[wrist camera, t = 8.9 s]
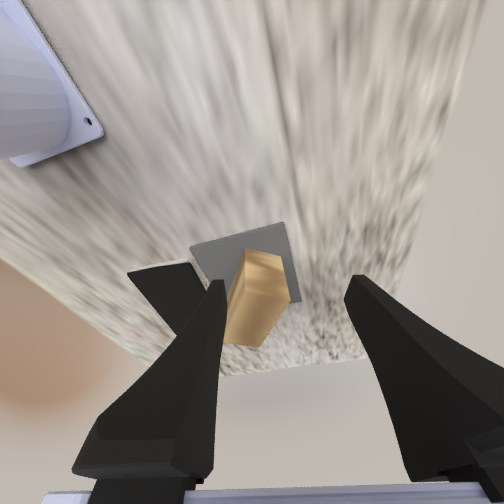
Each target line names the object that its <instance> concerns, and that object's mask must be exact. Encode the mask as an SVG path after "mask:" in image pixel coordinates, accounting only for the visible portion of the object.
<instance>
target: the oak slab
mask: <svg viewBox="0 0 504 504" xmlns="http://www.w3.org/2000/svg"><path fill="white" fill-rule="evenodd" d="M290 301H291V300H290V296H289V291H288V286H287V282H286V277H285V273H284V268H283V264H282V259H281V256H277V255H273V254H269V253H265V252H261V251H257V250H254V249H250V248H246V247H245V250H244V253H243V255H242V258H241V261H240V264H239V266H238V269H237V272H236V274H235V277H234V280H233V282H232V285H231V288H230V290H229V293H228V296H227V302H228V305H227V321H226V328H225V334H224V340H223V342H225V343H232V344H239V345H246V346H252V347H260V346H261V344H262V343H263V341H264V340H265V338H266V337H267V335H268V334H269V332H270V331H271V329H272V328H273V326H274V325H275V323H276V322H277V320H278V319H279V317H280V316H281V314H282V313H283V311H284V310H285V308H286V307H287V305H288V304H289V302H290Z"/></svg>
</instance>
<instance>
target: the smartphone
mask: <svg viewBox="0 0 504 504" xmlns="http://www.w3.org/2000/svg"><path fill="white" fill-rule="evenodd" d="M127 275H128V277H129V278H130V280H131V281H132V282H133V283H134V284H135V286H136V287H137V288H138V289H139V290H140V292H141V293H142V294H143V295H144V296H145V298H146V299H147V300H148V301H149V303H150V304H151V305H152V306H153V307H154V309H155V310H156V311H157V312H158V313H159V315H160V316H161V317H162V318H163V319H164V321H165V322H166V323H167V324H168V325H169V327H170V328H171V329H172V330H173V331H174V333H175V334H176V335H178V334H179V333H180V331H181V330H182V329H183V327H184V326H185V324H186V323H187V321H188V320H189V319H190V317H191V316H192V314H193V313H194V311H195V309H196V308H197V306H198V305H199V303H200V301H201V300H202V298H203V296H204V294H205V293H206V291H207V289H208V288H207V286H206V284H205V282H204V281H203V279H202V277H201V275H200V273H199V271H198V269H197V268H196V266H195V264H194V262H193V260H191V259H190V258H189V257H187V258H182V259H177V260H172V261H167V262H162V263H157V264H153V265H148V266H143V267H138V268H133V269H130V270H129V271H128V272H127Z"/></svg>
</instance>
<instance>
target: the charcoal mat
mask: <svg viewBox="0 0 504 504" xmlns="http://www.w3.org/2000/svg"><path fill="white" fill-rule="evenodd" d="M245 247H246V248H250V249H254V250H257V251H261V252H265V253H269V254H273V255H277V256H281V259H282V264H283V268H284V273H285V277H286V282H287V286H288V291H289V296H290V300H291V301H290V302H289V304H290V303H295V302H300V301H301V296H300V292H299V288H298V283H297V279H296V274H295V270H294V265H293V261H292V257H291V252H290V248H289V243H288V239H287V235H286V230H285V226H284V222H281V223H277V224H273V225H269V226H266V227H262V228H258V229H254V230H251V231H247V232H243V233H240V234H236V235H232V236H228V237H225V238H221V239H217V240H213V241H210V242H206V243H202V244H198V245H195V246H191V247H190V251H191V252H192V254H193V256H194V257H195V259H196V261H197V262H198V264H199V266H200V267H201V269H202V270H203V272H204V274H205V275H206V277H207V279H208V280H209V282H210V283H211V281H212V280H216V279H224V283H225V290H226V296H228V293H229V290H230V288H231V285H232V282H233V280H234V277H235V274H236V272H237V269H238V266H239V264H240V261H241V258H242V255H243V253H244V250H245Z"/></svg>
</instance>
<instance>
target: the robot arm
mask: <svg viewBox="0 0 504 504" xmlns="http://www.w3.org/2000/svg"><path fill="white" fill-rule="evenodd" d="M87 118H89V119H90V120H91V122H92V125H90V124H89V123H88V121H87ZM103 134H104V130H103V128H102V126H101V125H100V123H99V122H98V120H97V118H96V117H95V115H94V114H93V112H92V111H91V109H90V107H89V106H88V104H87V103H86V101H85V100H84V98H83V97H82V95H81V93H80V92H79V90H78V89H77V87H76V86H75V84H74V83H73V81H72V79H71V78H70V76H69V75H68V73H67V72H66V70H65V68H64V67H63V65H62V64H61V62H60V61H59V59H58V58H57V56H56V54H55V53H54V51H53V50H52V48H51V47H50V45H49V44H48V42H47V40H46V39H45V37H44V36H43V34H42V33H41V31H40V29H39V28H38V26H37V25H36V23H35V22H34V20H33V19H32V17H31V15H30V14H29V12H28V11H27V9H26V8H25V6H24V5H23V3H22V1H21V0H0V160H2V159H6V158H8V159H9V160H10V161H11V162H12V163H13V164H15V165H16V166H18V167H26V166H29V165H32V164H34V163H37V162H39V161H42V160H44V159H47V158H49V157H52V156H54V155H57V154H60V153H62V152H65V151H67V150H70V149H72V148H75V147H77V146H80V145H82V144H85V143H87V142H90V141H92V140H95V139H98V138H100V137H102V136H103ZM344 302H345V305H346V309H347V311H348V314H349V317H350V319H351V321H352V323H353V325H354V327H355V330H356V332H357V334H358V336H359V338H360V340H361V342H362V344H363V346H364V348H365V350H366V352H367V354H368V356H369V358H370V361H371V363H372V365H373V368H374V371H375V373H376V376H377V379H378V381H379V384H380V387H381V390H382V393H383V395H384V398H385V401H386V404H387V407H388V410H389V414H390V417H391V420H392V423H393V426H394V430H395V433H396V437H397V440H398V444H399V447H400V451H401V455H402V459H403V463H404V466H405V469H406V471H407V473H408V476H409V478H410V480H411V482H437V481H449V482H450V483H423V484H391V485H358V486H324V487H294V488H293V487H292V488H259V489H228V490H195V487H196V484H203V483H204V478H207V476H208V475H209V474H210V472H211V471H212V470H213V464H214V443H215V423H216V406H217V391H218V378H219V366H220V358H221V352H222V346H223V340H224V334H225V328H226V321H227V305H228V302H227V296H226V290H225V283H224V279H216V280H212V281H211V283H210V285H209V287H208V289H207V291H206V293H205V294H204V296H203V298H202V300H201V301H200V303H199V305H198V306H197V308H196V309H195V311H194V313H193V314H192V316H191V317H190V319H189V320H188V321H187V323H186V324H185V326H184V327H183V329H182V330H181V331H180V333H179V334H178V335H177V336H176V338H175V339H174V340H173V341H172V343H171V344H170V345H169V346H168V347H167V349H166V350H165V351H164V352H163V353H162V354H161V356H160V357H159V358H158V359H157V360H156V361H155V362H154V363H153V364H152V366H151V367H150V368H149V369H148V370H147V371H146V372H145V373H144V374H143V375H142V376H141V377H140V378H139V379H138V380H137V381H136V382H135V383H134V384H133V385H132V386H131V387H130V388H129V389H128V390H127V391H126V392H124V393H123V394H122V395H121V396H120V397H119V398H118V399H117V400H116V401H115V402H114V403H112V404H111V405H110V406H109V407H108V408H107V409H106V410H105V411H104V412H103V413H102V414H100V415H99V416H98V418H97V420H96V422H95V423H94V425H93V427H92V428H91V430H90V432H89V434H88V436H87V438H86V440H85V442H84V444H83V446H82V448H81V450H80V452H79V454H78V456H77V459H76V461H75V463H74V465H73V467H72V473H74V474H76V475H79V476H84V477H88V478H93V479H97V481H96V484H95V486H94V488H93V491H55V492H49V493H47V494H46V495H45V497H44V499H43V501H42V503H41V504H504V368H503V367H501V366H499V365H497V364H495V363H493V362H491V361H489V360H488V359H486V358H484V357H482V356H480V355H478V354H477V353H475V352H473V351H472V350H470V349H468V348H466V347H465V346H463V345H461V344H459V343H458V342H456V341H455V340H453V339H451V338H449V337H448V336H446V335H445V334H443V333H442V332H440V331H439V330H437V329H436V328H434V327H432V326H431V325H429V324H428V323H426V322H425V321H424V320H422V319H421V318H419V317H418V316H417V315H415V314H414V313H412V312H411V311H410V310H408V309H407V308H405V307H404V306H403V305H402V304H400V303H399V302H398V301H396V300H395V299H394V298H393V297H391V296H390V295H389V294H388V293H386V292H385V291H384V290H383V289H381V288H380V287H379V286H378V285H376V284H375V283H374V282H373V281H371V280H370V279H369V278H368V277H366V276H365V275H353V276H352V278H351V281H350V284H349V286H348V289H347V291H346V294H345V297H344Z"/></svg>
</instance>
